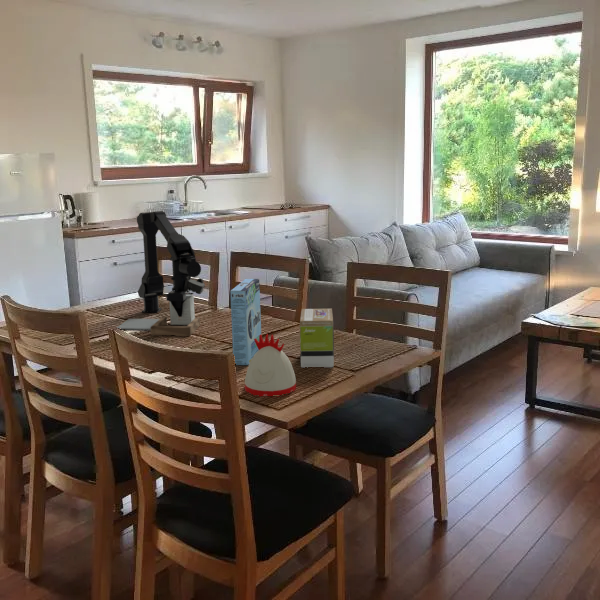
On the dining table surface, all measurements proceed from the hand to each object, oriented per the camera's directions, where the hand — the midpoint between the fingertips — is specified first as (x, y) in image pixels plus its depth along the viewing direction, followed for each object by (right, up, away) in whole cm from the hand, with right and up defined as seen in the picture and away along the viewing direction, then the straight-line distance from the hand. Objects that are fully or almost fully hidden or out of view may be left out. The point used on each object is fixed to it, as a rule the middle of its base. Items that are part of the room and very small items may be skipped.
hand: (182, 314), depth 248 cm
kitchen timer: (+36, -19, -68) cm, 79 cm away
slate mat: (-15, -4, -1) cm, 16 cm away
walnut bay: (-1, -5, -8) cm, 10 cm away
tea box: (+49, -13, -44) cm, 67 cm away
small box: (0, -3, +1) cm, 4 cm away
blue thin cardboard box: (+27, -12, -39) cm, 50 cm away
